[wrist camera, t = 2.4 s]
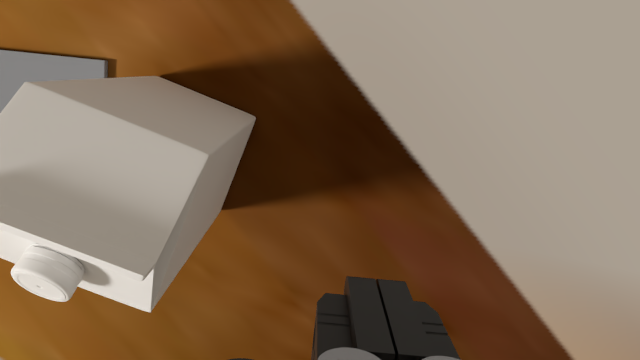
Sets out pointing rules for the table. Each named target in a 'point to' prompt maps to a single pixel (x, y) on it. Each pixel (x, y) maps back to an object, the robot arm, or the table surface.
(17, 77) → the mat
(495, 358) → the table surface
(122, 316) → the table surface
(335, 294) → the robot arm
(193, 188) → the milk carton
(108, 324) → the table surface
